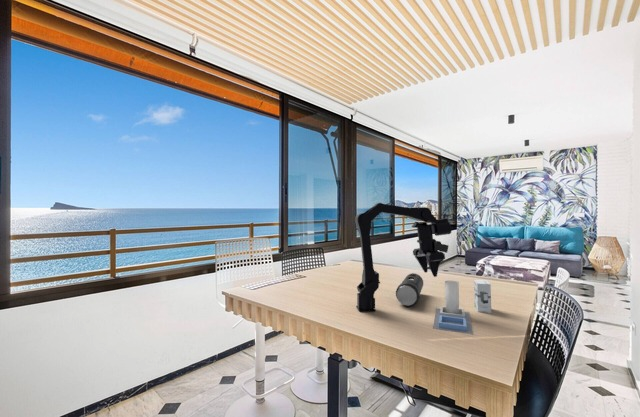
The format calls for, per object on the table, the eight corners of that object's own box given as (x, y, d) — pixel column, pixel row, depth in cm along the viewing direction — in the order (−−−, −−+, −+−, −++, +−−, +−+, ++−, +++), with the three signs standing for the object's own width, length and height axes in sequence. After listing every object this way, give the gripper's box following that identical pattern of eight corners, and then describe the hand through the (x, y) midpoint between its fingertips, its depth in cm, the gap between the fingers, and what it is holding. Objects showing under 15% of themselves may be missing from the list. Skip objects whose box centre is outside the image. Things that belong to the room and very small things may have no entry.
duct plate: (473, 336, 90) (473, 329, 91) (432, 329, 95) (432, 323, 96) (469, 313, 112) (469, 308, 112) (436, 309, 117) (436, 304, 117)
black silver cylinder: (424, 294, 141) (423, 273, 142) (418, 311, 116) (418, 285, 116) (404, 292, 145) (404, 272, 146) (395, 308, 120) (394, 283, 120)
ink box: (474, 306, 121) (473, 278, 121) (487, 308, 119) (486, 279, 119) (477, 313, 113) (476, 283, 113) (491, 314, 111) (491, 284, 111)
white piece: (449, 317, 106) (449, 283, 107) (443, 313, 111) (442, 280, 112) (462, 316, 107) (461, 283, 107) (454, 312, 112) (454, 280, 112)
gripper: (455, 236, 110) (461, 276, 110) (434, 233, 129) (439, 268, 129) (427, 239, 110) (432, 280, 109) (410, 236, 129) (415, 271, 128)
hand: (430, 274), depth 119 cm, fingers open, 9 cm apart
